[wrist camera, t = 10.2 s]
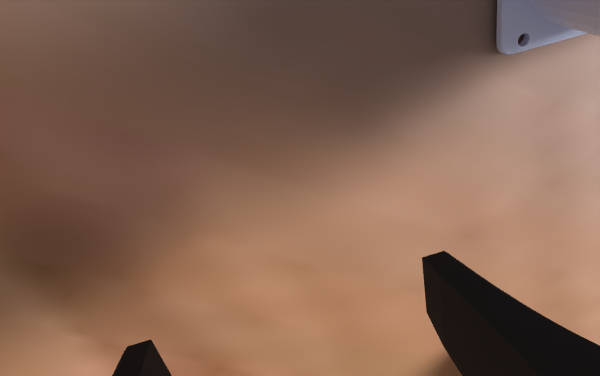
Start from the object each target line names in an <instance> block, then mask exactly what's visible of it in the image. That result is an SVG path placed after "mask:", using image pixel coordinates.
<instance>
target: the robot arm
mask: <svg viewBox="0 0 600 376" xmlns="http://www.w3.org/2000/svg"><path fill="white" fill-rule="evenodd" d="M587 33H589V34H593V35H597V36H600V0H497V42H496V44H497V49H498V50H499V52H502V53H504V54H506V55H512V54H515V53H519V52H522V51H526V50H530V49H533V48H537V47H540V46H544V45H548V44H551V43H555V42H558V41H562V40H566V39H569V38H573V37H576V36H580V35H584V34H587ZM522 34H524V38H523V40H522V42H521V43H519V44H518V39H519V37H520V36H521V35H522ZM422 262H423V274H424V286H425V298H426V310H427V314H428V316H429V318H430V320H431V322H432V324H433V326H434V328H435V330H436V332H437V334H438V336H439V338H440V340H441V342H442V344H443V346H444V348H445V349H446V351H447V352H448V354H449V356H450V357H451V359H452V360H453V362H454V363H455V365H456V366H457V368H458V370H459V371H460V373H461V374H462V376H600V346H599V345H597V344H595V343H593V342H591V341H589V340H587V339H585V338H583V337H581V336H579V335H577V334H575V333H573V332H571V331H570V330H568V329H566V328H564V327H562V326H560V325H558V324H557V323H555V322H553V321H551V320H550V319H548V318H546V317H544V316H543V315H541V314H539V313H537V312H536V311H534V310H532V309H531V308H529V307H527V306H526V305H524V304H522V303H521V302H519V301H518V300H516V299H515V298H513V297H511V296H510V295H508V294H507V293H505V292H504V291H502V290H500V289H499V288H497V287H496V286H494V285H493V284H491V283H490V282H488V281H487V280H486V279H484V278H483V277H481V276H480V275H478V274H477V273H475V272H474V271H472V270H471V269H470V268H468V267H467V266H465V265H464V264H463V263H461V262H460V261H458V260H457V259H456V258H454V257H453V256H451V255H450V254H449V253H447V252H445V251H442V252H439V253H436V254H432V255H429V256H426V257H423V258H422ZM112 376H171V374H170V372H169V370H168V369H167V367H166V365H165V363H164V362H163V360H162V358H161V356H160V354H159V353H158V351H157V349H156V347H155V346H154V344H153V342H152V340H148V341H144V342H141V343H138V344H134V345H131V346H128V347H127V348H126V350H125V351H124V353H123V355H122V357H121V359H120V361H119V363H118V365H117V367H116V369H115V371H114V373H113V375H112Z"/></svg>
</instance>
